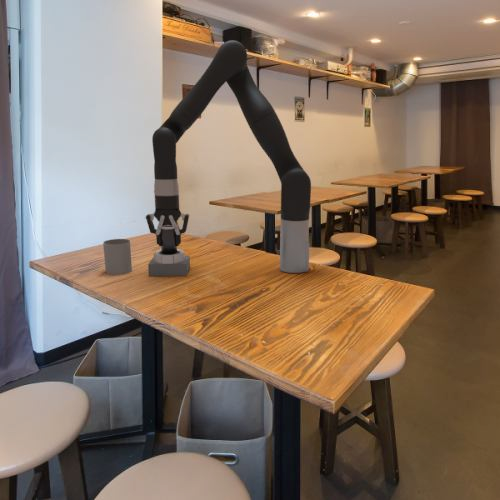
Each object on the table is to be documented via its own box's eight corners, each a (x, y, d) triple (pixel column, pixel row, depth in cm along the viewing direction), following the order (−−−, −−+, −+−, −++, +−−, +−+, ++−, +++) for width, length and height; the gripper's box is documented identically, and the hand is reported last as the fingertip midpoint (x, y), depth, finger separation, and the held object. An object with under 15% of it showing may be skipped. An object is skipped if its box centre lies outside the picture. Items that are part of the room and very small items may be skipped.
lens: (178, 250, 143) (177, 224, 141) (176, 254, 138) (175, 227, 136) (162, 250, 143) (161, 224, 141) (160, 254, 138) (158, 227, 136)
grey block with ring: (189, 266, 147) (189, 248, 146) (186, 275, 138) (186, 256, 136) (154, 267, 147) (153, 248, 145) (148, 276, 137) (147, 256, 136)
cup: (124, 275, 138) (122, 245, 135) (100, 274, 139) (98, 244, 137) (136, 268, 146) (134, 239, 143) (113, 266, 147) (111, 238, 145)
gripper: (190, 192, 140) (192, 243, 144) (146, 192, 139) (149, 243, 144) (188, 194, 133) (189, 248, 137) (141, 194, 132) (144, 248, 136)
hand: (169, 245), depth 140 cm, fingers closed on lens, 5 cm apart
